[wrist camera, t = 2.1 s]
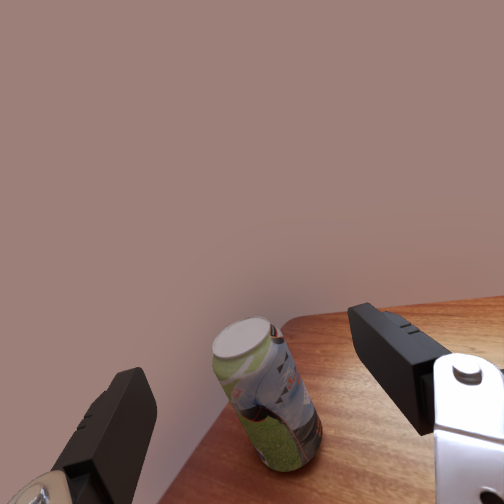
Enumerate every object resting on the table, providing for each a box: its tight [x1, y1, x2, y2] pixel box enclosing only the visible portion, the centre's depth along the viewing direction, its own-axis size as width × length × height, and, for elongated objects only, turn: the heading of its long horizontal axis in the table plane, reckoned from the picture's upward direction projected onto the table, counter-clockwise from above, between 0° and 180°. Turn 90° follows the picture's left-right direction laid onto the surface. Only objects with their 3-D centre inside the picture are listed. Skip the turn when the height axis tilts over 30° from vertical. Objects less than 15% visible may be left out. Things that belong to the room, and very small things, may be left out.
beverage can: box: [212, 316, 322, 472], centre depth 23 cm, size 6×7×12 cm
